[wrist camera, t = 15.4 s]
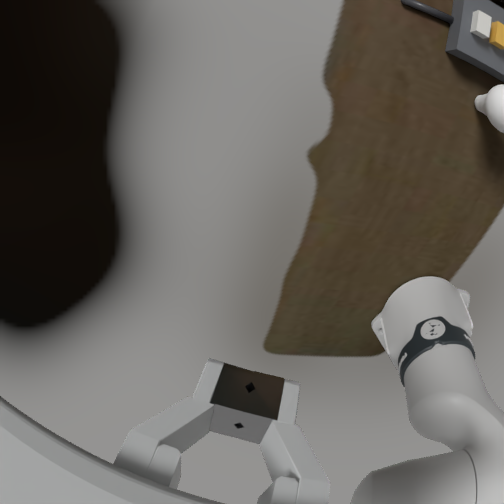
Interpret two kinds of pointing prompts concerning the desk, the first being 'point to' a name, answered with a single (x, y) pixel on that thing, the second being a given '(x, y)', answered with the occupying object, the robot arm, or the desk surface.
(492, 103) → the lightbulb
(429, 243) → the desk surface
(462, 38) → the breaker strip
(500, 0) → the supplement bottle
